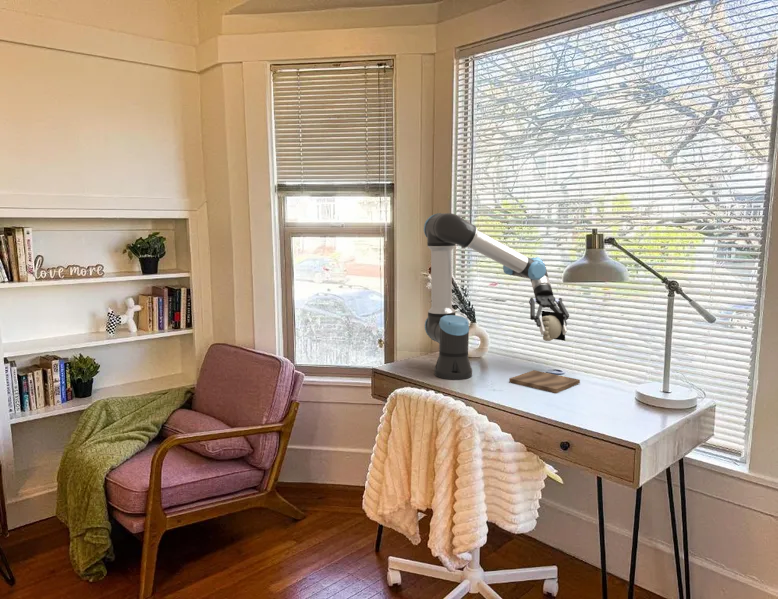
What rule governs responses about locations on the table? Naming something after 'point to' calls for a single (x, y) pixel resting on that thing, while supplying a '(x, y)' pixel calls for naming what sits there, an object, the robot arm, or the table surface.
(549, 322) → the decorative object
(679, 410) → the table surface
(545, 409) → the table surface
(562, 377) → the walnut board
